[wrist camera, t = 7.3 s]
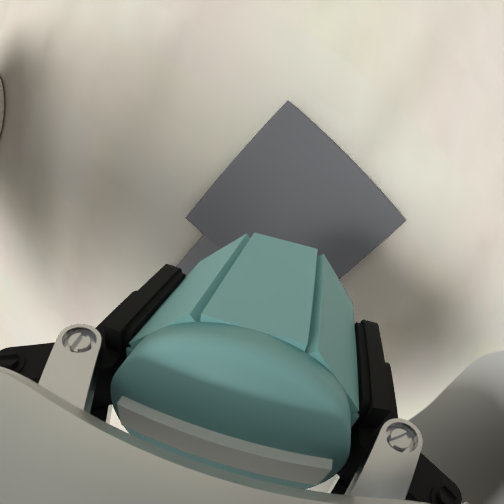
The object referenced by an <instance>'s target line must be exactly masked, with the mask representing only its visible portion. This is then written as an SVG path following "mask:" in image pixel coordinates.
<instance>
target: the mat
mask: <svg viewBox="0 0 504 504" xmlns="http://www.w3.org/2000/svg"><path fill="white" fill-rule="evenodd" d="M186 219H187V220H188V221H190V222H191V223H192V224H193V225H194V226H195V227H196V228H197V229H198V230H199V231H201V232H202V233H203V234H204V235H205V236H206V237H207V238H208V239H209V240H210V241H212V242H213V243H214V244H215V245H216V246H217V247H218V248H219V249H221V248H223V247H225V246H227V245H228V244H230V243H232V242H233V241H235V240H237V239H238V238H240V237H242V236H243V235H245V234H248V236H249V237H250V238H251V237H252V235H253V234H254V233H258V234H262V235H266V236H270V237H274V238H278V239H282V240H286V241H289V242H293V243H297V244H301V245H305V246H308V247H312V248H316V249H318V250H317V257H318V256H320V255H322V254H324V255H325V256H326V258H327V260H328V262H329V263H330V265H331V267H332V268H333V270H334V272H335V273H336V275H337V277H338V278H341V277H342V276H343V275H344V274H345V273H347V272H348V271H349V270H350V269H351V268H352V267H354V266H355V265H356V264H357V263H358V262H359V261H361V260H362V259H363V258H364V257H365V256H366V255H368V254H369V253H370V252H371V251H372V250H373V249H374V248H376V247H377V246H378V245H379V244H380V243H381V242H382V241H383V240H385V239H386V238H387V237H388V236H389V235H390V234H391V233H392V232H393V231H395V230H396V229H397V228H398V227H399V226H400V225H401V224H402V223H403V222H404V221H405V218H404V217H403V216H402V215H401V214H400V212H399V211H398V210H397V209H396V208H395V207H394V205H393V204H392V203H391V202H390V201H389V200H388V199H387V197H386V196H385V195H384V194H383V193H382V192H381V191H380V190H379V189H378V187H377V186H376V185H375V184H374V183H373V182H372V181H371V180H370V179H369V178H368V177H367V176H366V174H365V173H364V172H363V171H362V170H361V169H360V168H359V167H358V166H357V165H356V164H355V163H354V162H353V161H352V160H351V159H350V158H349V157H348V156H347V155H346V154H345V153H344V152H343V151H342V150H341V149H340V148H339V147H338V146H337V145H336V144H335V143H334V142H333V141H332V140H331V139H330V138H329V137H328V136H327V135H326V134H325V133H324V132H323V131H321V130H320V129H319V128H318V127H317V126H316V125H315V124H314V123H313V122H312V121H311V120H310V119H308V118H307V117H306V116H305V115H304V114H303V113H302V112H301V111H300V110H298V109H297V108H296V107H295V106H294V105H293V104H292V103H290V102H289V101H287V102H286V103H285V104H284V105H283V106H282V107H281V108H280V109H279V110H278V111H277V112H276V114H275V115H274V116H273V117H272V118H271V119H270V120H269V121H268V122H267V123H266V124H265V125H264V127H263V128H262V129H261V130H260V131H259V132H258V133H257V134H256V135H255V137H254V138H253V139H252V140H251V141H250V142H249V143H248V144H247V145H246V147H245V148H244V149H243V150H242V151H241V152H240V153H239V155H238V156H237V157H236V158H235V159H234V160H233V161H232V163H231V164H230V165H229V166H228V167H227V168H226V170H225V171H224V172H223V173H222V174H221V175H220V177H219V178H218V179H217V180H216V181H215V183H214V184H213V185H212V186H211V187H210V189H209V190H208V191H207V192H206V193H205V195H204V196H203V197H202V198H201V199H200V201H199V202H198V203H197V204H196V206H195V207H194V208H193V209H192V210H191V212H190V213H189V214H188V215H187V217H186Z"/></svg>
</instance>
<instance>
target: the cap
mask: <svg viewBox="0 0 504 504" xmlns="http://www.w3.org/2000/svg"><path fill="white" fill-rule="evenodd" d="M317 250H318V249H316V248H312V247H308V246H305V245H301V244H297V243H293V242H289V241H286V240H282V239H278V238H274V237H270V236H266V235H262V234H258V233H254V234H253V235H252V237H251V238H250V237H249V236H248V234H245V235H243V236H242V237H240V238H238V239H237V240H235V241H233V242H232V243H230V244H228V245H227V246H225V247H223V248H221V249H220V250H218V251H216V252H215V253H213V254H211V255H210V256H208V257H206V258H205V259H203V260H201V261H200V262H199V263H198V264H197V265H196V266H195V267H194V268H193V270H192V271H191V272H190V273H189V274H188V275H187V276H186V277H185V279H184V280H183V281H182V282H181V283H180V284H179V285H178V287H177V288H176V289H175V290H174V291H173V292H172V293H171V295H170V296H169V297H168V298H167V299H166V300H165V302H164V303H163V304H162V305H161V306H160V307H159V308H158V310H157V311H156V312H155V313H154V314H153V315H152V317H151V318H150V319H149V320H148V321H147V323H146V324H145V325H144V326H143V327H142V328H141V330H140V331H139V332H138V333H137V334H136V335H135V337H134V338H133V339H132V340H131V341H130V343H129V344H130V345H131V347H127V348H126V353H127V358H126V360H125V361H124V362H123V363H122V365H121V366H120V367H119V368H118V370H117V371H116V373H115V374H114V376H113V379H112V382H111V390H110V393H111V400H112V404H113V407H114V410H115V412H116V414H117V416H118V418H119V419H120V421H121V425H123V426H124V427H125V428H126V430H127V431H128V432H129V433H130V435H132V436H134V437H137V438H139V439H141V440H143V441H146V442H148V443H150V444H153V445H155V446H157V447H160V448H162V449H165V450H167V451H170V452H172V453H175V454H177V455H180V456H183V457H185V458H188V459H191V460H194V461H197V462H199V463H202V464H205V465H208V466H211V467H215V468H218V469H221V470H224V471H228V472H231V473H235V474H238V475H242V476H245V477H249V478H253V479H257V480H261V481H266V482H270V483H274V484H279V485H284V486H289V487H294V488H299V489H307V488H311V487H313V486H316V485H319V484H321V483H323V482H325V481H327V480H328V479H330V478H331V477H333V476H334V475H335V474H337V473H338V472H339V471H340V470H341V469H342V467H343V466H344V465H345V463H346V461H347V459H348V457H349V453H350V446H351V427H352V426H353V425H354V423H355V422H356V420H357V419H358V418H359V414H357V411H359V390H358V368H357V351H356V337H355V325H354V314H353V303H352V301H351V299H350V298H349V296H348V294H347V292H346V291H345V289H344V287H343V285H342V284H341V282H340V280H339V278H338V277H337V275H336V273H335V272H334V270H333V268H332V267H331V265H330V263H329V262H328V260H327V258H326V256H325V255H324V254H322V255H320V256H318V257H317Z"/></svg>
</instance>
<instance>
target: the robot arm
mask: <svg viewBox="0 0 504 504" xmlns="http://www.w3.org/2000/svg"><path fill="white" fill-rule="evenodd" d="M3 116H4V91H3V86H2V82H1V79H0V133H1V129H2V123H3ZM185 277H186V275H185V274H184V273H182V269H181V268H178V267H175V266H172V265H168V264H166V265H165V266H163V267H162V268H161V269H160V270H159V271H158V272H157V273H156V274H155V275H154V276H153V277H152V278H151V279H150V280H149V281H148V282H147V283H145V284H144V285H143V286H142V287H141V288H140V289H139V290H138V291H134V292H132V293H131V294H130V295H129V296H128V297H127V298H126V299H125V300H124V301H123V302H122V303H121V304H120V305H119V306H118V307H117V308H116V309H115V310H114V311H113V312H112V313H110V314H109V315H108V316H107V317H106V318H105V319H104V320H103V321H102V322H101V323H100V324H99V325H98V326H97V327H96V328H94V327H92V326H89V325H86V324H75V325H71V326H68V327H66V328H65V329H63V330H62V331H61V332H60V334H59V335H58V337H57V339H56V342H55V343H46V344H37V345H28V346H18V347H9V348H5V349H3V350H1V351H0V504H463V503H461V501H462V497H461V492H460V490H459V488H458V487H457V486H456V484H455V483H454V482H452V481H451V480H450V479H449V478H448V477H447V476H446V475H445V474H444V473H442V472H441V471H440V470H439V469H438V468H437V467H436V466H435V465H434V464H432V463H431V462H430V461H429V460H428V459H427V458H426V457H425V456H424V455H423V454H422V453H421V448H422V436H421V433H420V431H419V430H418V428H417V427H416V426H415V425H414V424H412V423H411V422H409V421H407V420H404V419H400V418H398V414H397V406H396V399H395V392H394V385H393V379H392V373H391V367H390V364H389V363H387V362H385V360H384V354H383V348H382V343H381V337H380V332H379V326H378V324H377V323H374V322H370V321H366V320H362V321H361V322H360V323H357V322H356V323H355V337H356V351H357V368H358V390H359V411H357V414H359V418H358V419H357V420H356V422H355V423H354V425H353V426H352V427H351V446H350V453H349V457H348V459H347V461H346V463H345V465H344V466H343V467H342V469H341V470H340V471H339V472H338V473H337V474H338V476H337V478H336V479H335V481H334V483H333V484H332V486H331V488H330V489H329V491H328V493H323V492H317V491H311V490H305V489H299V488H294V487H289V486H284V485H279V484H274V483H270V482H266V481H261V480H257V479H253V478H249V477H245V476H242V475H238V474H235V473H231V472H228V471H224V470H221V469H218V468H215V467H211V466H208V465H205V464H202V463H199V462H197V461H194V460H191V459H188V458H185V457H183V456H180V455H177V454H175V453H172V452H170V451H167V450H165V449H162V448H160V447H157V446H155V445H153V444H150V443H148V442H146V441H143V440H141V439H139V438H137V437H134V436H132V435H130V434H128V433H126V432H124V431H122V430H120V429H118V428H115V427H113V426H112V425H110V417H111V411H112V405H113V404H112V400H111V393H110V390H111V382H112V379H113V376H114V374H115V373H116V371H117V370H118V368H119V367H120V366H121V365H122V363H123V362H124V361H125V360H126V358H127V353H126V348H127V347H131V345H130V344H129V343H130V341H131V340H132V339H133V338H134V337H135V335H136V334H137V333H138V332H139V331H140V330H141V328H142V327H143V326H144V325H145V324H146V323H147V321H148V320H149V319H150V318H151V317H152V315H153V314H154V313H155V312H156V311H157V310H158V308H159V307H160V306H161V305H162V304H163V303H164V302H165V300H166V299H167V298H168V297H169V296H170V295H171V293H172V292H173V291H174V290H175V289H176V288H177V287H178V285H179V284H180V283H181V282H182V281H183V280H184V279H185ZM464 504H469V503H467V502H465V503H464Z"/></svg>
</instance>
